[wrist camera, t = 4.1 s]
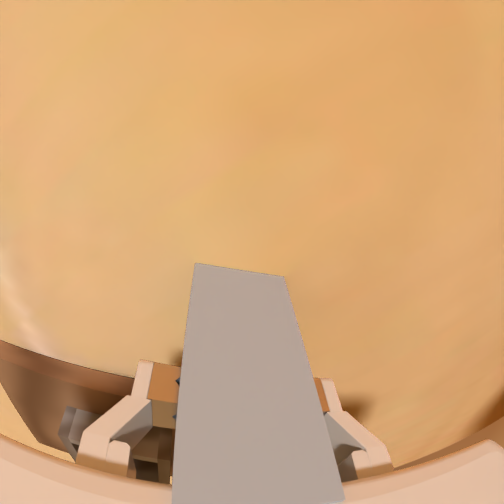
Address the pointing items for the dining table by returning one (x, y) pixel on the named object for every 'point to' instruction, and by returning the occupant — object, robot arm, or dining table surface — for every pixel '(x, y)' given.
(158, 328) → the dining table surface
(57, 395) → the walnut socket board
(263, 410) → the grey square peg
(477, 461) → the robot arm
